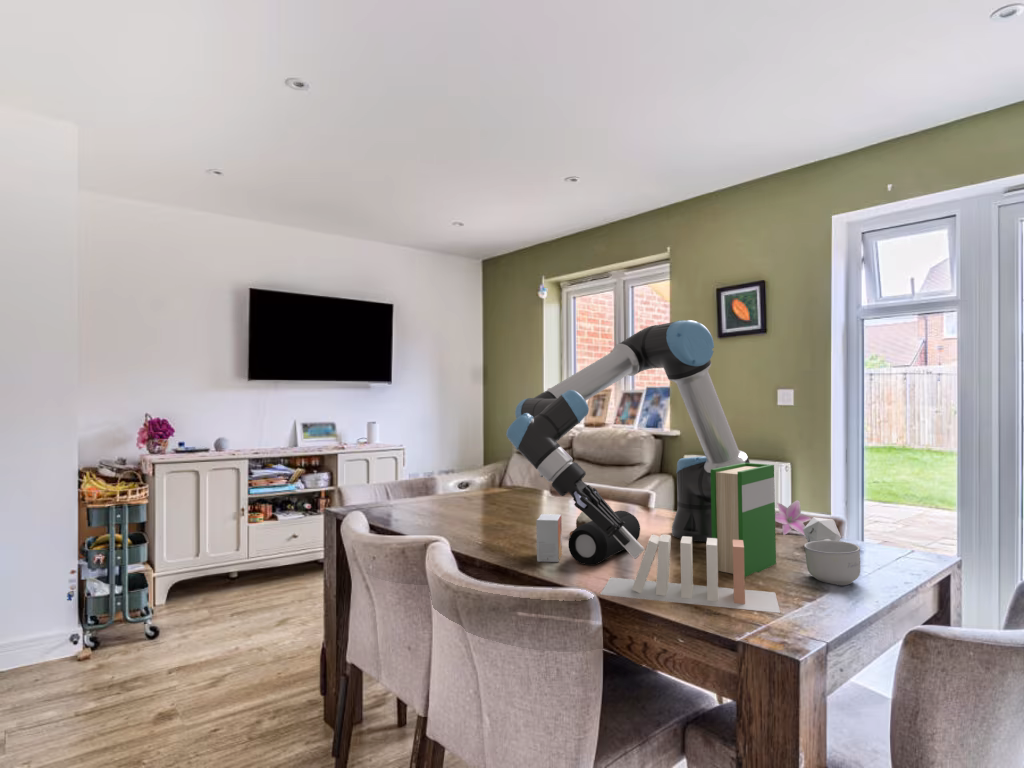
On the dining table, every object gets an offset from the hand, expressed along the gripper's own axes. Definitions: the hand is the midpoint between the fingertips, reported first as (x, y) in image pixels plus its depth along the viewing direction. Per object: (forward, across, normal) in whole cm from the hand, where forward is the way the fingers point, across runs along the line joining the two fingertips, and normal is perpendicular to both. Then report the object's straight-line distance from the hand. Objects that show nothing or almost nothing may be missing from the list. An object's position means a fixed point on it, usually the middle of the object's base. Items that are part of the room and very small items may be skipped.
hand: (639, 553), depth 125 cm
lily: (+31, -67, +19) cm, 76 cm away
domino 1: (+5, 0, -5) cm, 7 cm away
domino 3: (+12, 0, +1) cm, 12 cm away
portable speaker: (-3, -26, -14) cm, 30 cm away
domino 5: (+19, 0, +8) cm, 21 cm away
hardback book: (+21, -24, +9) cm, 33 cm away
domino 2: (+8, 0, -2) cm, 9 cm away
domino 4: (+16, 0, +5) cm, 16 cm away
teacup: (+34, -21, +22) cm, 45 cm away
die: (+35, -50, +23) cm, 65 cm away
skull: (-9, -47, -21) cm, 52 cm away
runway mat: (+12, 0, +1) cm, 12 cm away
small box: (-12, -19, -24) cm, 33 cm away
